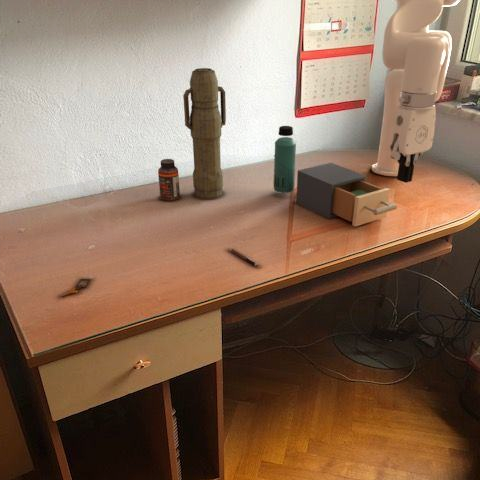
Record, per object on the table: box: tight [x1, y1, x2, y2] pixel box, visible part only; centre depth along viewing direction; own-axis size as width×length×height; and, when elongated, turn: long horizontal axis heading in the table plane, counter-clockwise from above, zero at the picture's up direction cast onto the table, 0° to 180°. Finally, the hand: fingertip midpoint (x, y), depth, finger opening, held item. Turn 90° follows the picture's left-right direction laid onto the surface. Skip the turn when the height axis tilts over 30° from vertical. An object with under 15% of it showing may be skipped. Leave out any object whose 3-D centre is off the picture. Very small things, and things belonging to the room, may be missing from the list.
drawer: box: [332, 180, 398, 227], centre depth 144 cm, size 18×11×8 cm, turn 33°
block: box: [350, 190, 367, 196], centre depth 145 cm, size 5×5×5 cm
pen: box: [229, 248, 259, 267], centre depth 127 cm, size 11×1×1 cm, turn 36°
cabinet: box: [295, 162, 367, 219], centre depth 152 cm, size 15×13×10 cm
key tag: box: [61, 278, 91, 297], centre depth 116 cm, size 8×3×1 cm, turn 162°
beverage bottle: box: [273, 125, 297, 194], centre depth 158 cm, size 6×7×20 cm
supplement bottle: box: [157, 158, 181, 202], centre depth 158 cm, size 6×6×11 cm
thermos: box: [182, 67, 227, 200], centre depth 154 cm, size 9×12×35 cm
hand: (404, 180), depth 129 cm, fingers closed
